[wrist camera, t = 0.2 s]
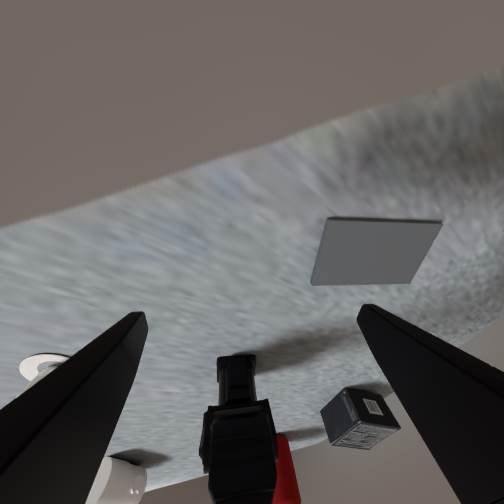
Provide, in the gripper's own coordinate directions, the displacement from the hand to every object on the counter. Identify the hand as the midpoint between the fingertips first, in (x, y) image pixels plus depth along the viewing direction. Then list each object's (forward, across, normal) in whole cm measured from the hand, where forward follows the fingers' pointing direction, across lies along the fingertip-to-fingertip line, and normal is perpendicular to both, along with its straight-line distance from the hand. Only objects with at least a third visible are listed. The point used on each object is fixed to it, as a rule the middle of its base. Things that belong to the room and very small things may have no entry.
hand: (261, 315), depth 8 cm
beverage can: (+15, -12, +59) cm, 62 cm away
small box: (+11, -29, +38) cm, 50 cm away
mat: (+14, -18, +4) cm, 23 cm away
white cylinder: (+15, +26, +60) cm, 67 cm away
